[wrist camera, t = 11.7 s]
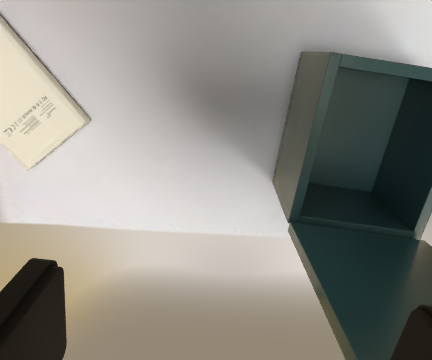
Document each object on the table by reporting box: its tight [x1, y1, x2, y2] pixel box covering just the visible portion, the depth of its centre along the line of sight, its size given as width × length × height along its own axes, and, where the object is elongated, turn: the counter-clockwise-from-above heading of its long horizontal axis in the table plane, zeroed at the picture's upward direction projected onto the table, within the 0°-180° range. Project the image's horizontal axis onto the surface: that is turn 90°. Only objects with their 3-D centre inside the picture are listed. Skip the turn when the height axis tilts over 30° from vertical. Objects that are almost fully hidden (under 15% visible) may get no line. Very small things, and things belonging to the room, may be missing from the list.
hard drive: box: [0, 16, 90, 170], centre depth 31 cm, size 2×8×12 cm
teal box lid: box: [288, 222, 432, 360], centre depth 20 cm, size 14×11×5 cm
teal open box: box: [272, 52, 432, 240], centre depth 28 cm, size 13×11×9 cm
